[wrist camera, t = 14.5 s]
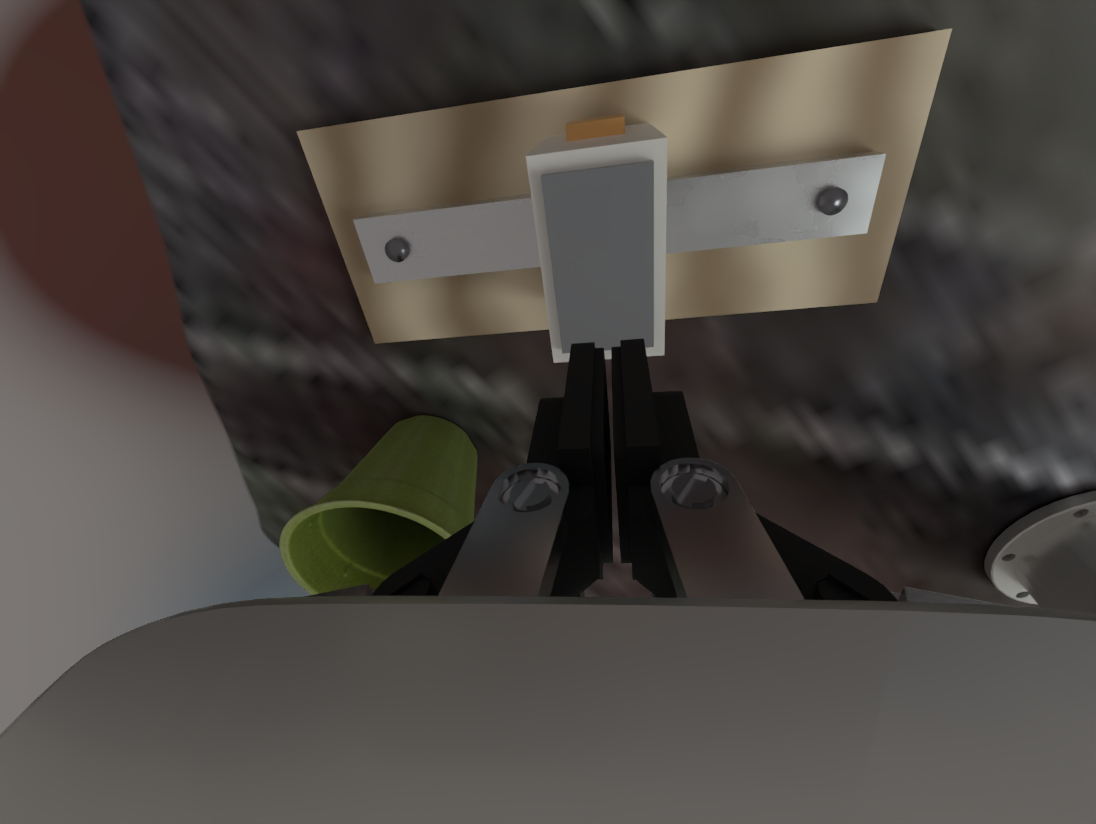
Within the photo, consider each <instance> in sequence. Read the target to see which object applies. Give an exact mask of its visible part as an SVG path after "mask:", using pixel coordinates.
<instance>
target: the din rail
mask: <svg viewBox="0 0 1096 824" xmlns="http://www.w3.org/2000/svg"><path fill="white" fill-rule="evenodd" d="M885 157H886V153H882V152H878V151H874V150H873V151H865V152H857V153H849V154H841V155H833V156H825V157H817V158H809V159H801V160H793V161H785V162H777V163H769V164H761V165H753V166H746V167H738V168H730V169H722V170H714V171H706V172H698V173H690V174H682V175H674V176H667V209H666V254H670V253H680V252H690V251H699V250H709V249H719V248H729V247H738V246H748V245H758V244H768V243H778V242H787V241H797V240H807V239H817V238H826V237H836V236H846V235H856V234H865V233H867V231H868V227H869V223H870V219H871V215H872V211H873V206H874V202H875V198H876V194H877V190H878V186H879V182H880V177H881V173H882V169H883V165H884V161H885ZM353 222H354V225H355V228H356V230H357V233H358V236H359V239H360V242H361V245H362V248H363V251H364V254H365V257H366V260H367V262H368V265H369V268H370V271H371V274H372V277H373V280H374V283H375V284H377V283H387V282H396V281H406V280H416V279H426V278H435V277H445V276H455V275H465V274H475V273H484V272H494V271H504V270H514V269H523V268H533V267H541V265H540V258H539V250H538V243H537V236H536V228H535V221H534V213H533V206H532V199H531V194H523V195H515V196H507V197H499V198H491V199H483V200H475V201H467V202H459V203H451V204H443V205H435V206H427V207H419V208H411V209H403V210H395V211H387V212H380V213H372V214H364V215H361V216H359V217H357V218H355V219H353Z"/></svg>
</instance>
